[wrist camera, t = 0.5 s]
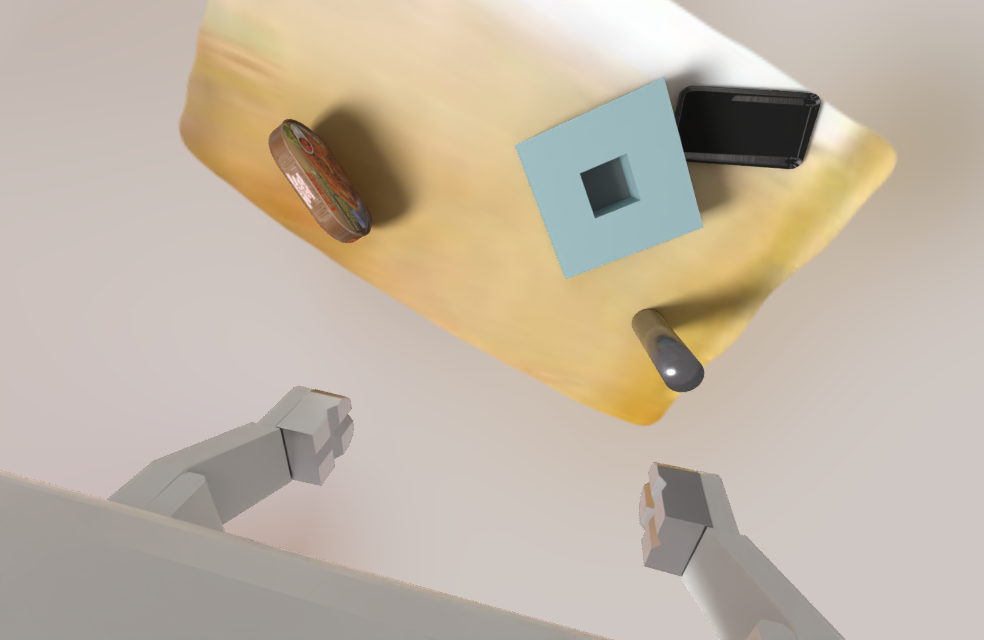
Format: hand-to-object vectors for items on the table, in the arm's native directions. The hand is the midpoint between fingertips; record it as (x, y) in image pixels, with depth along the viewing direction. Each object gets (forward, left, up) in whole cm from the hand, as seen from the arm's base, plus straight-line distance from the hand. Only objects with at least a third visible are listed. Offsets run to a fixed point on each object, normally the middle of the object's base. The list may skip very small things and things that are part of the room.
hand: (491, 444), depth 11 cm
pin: (+14, +17, -46) cm, 51 cm away
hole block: (-4, +10, -46) cm, 47 cm away
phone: (-10, +25, -47) cm, 54 cm away
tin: (-5, -24, -47) cm, 53 cm away
